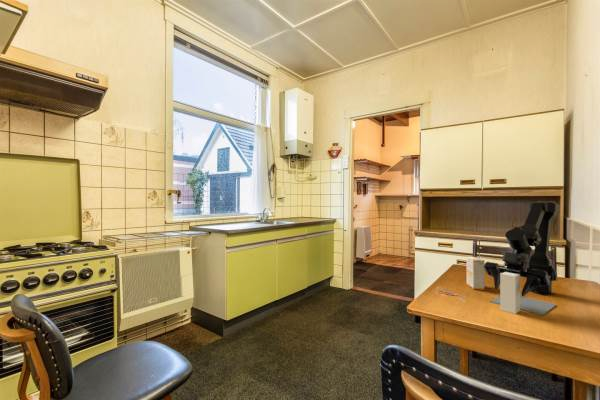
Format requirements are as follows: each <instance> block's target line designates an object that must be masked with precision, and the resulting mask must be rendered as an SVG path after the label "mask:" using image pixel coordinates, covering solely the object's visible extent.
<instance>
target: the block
mask: <svg viewBox="0 0 600 400" xmlns="http://www.w3.org/2000/svg"><path fill="white" fill-rule="evenodd" d="M499 288H500V291H499V292H500V293H499V296H500V304H499V306H500V307H499V309H500V311H504V312H507V313H510V314H514V315H516V314H517V313H519V312H520V311H521V310H520V296H521V277H520V274H515V273H509V272H503V273H501V274H500V285H499Z"/></svg>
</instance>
